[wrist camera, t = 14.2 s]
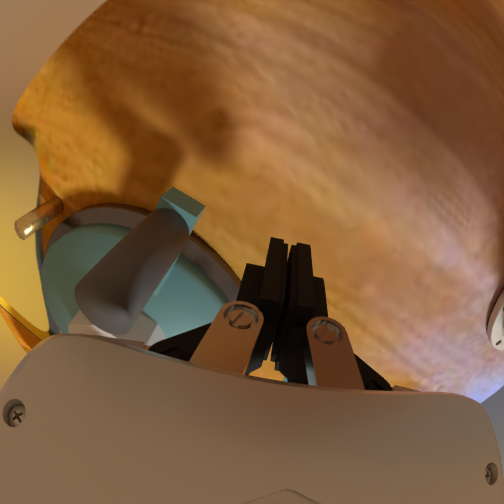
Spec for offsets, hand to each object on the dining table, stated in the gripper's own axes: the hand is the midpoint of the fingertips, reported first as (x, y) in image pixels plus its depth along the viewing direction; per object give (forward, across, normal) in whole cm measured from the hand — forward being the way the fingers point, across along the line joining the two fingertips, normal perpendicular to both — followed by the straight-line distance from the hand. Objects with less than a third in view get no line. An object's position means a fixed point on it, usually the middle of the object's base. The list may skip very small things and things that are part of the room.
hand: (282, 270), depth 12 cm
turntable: (+5, +10, +10) cm, 15 cm away
